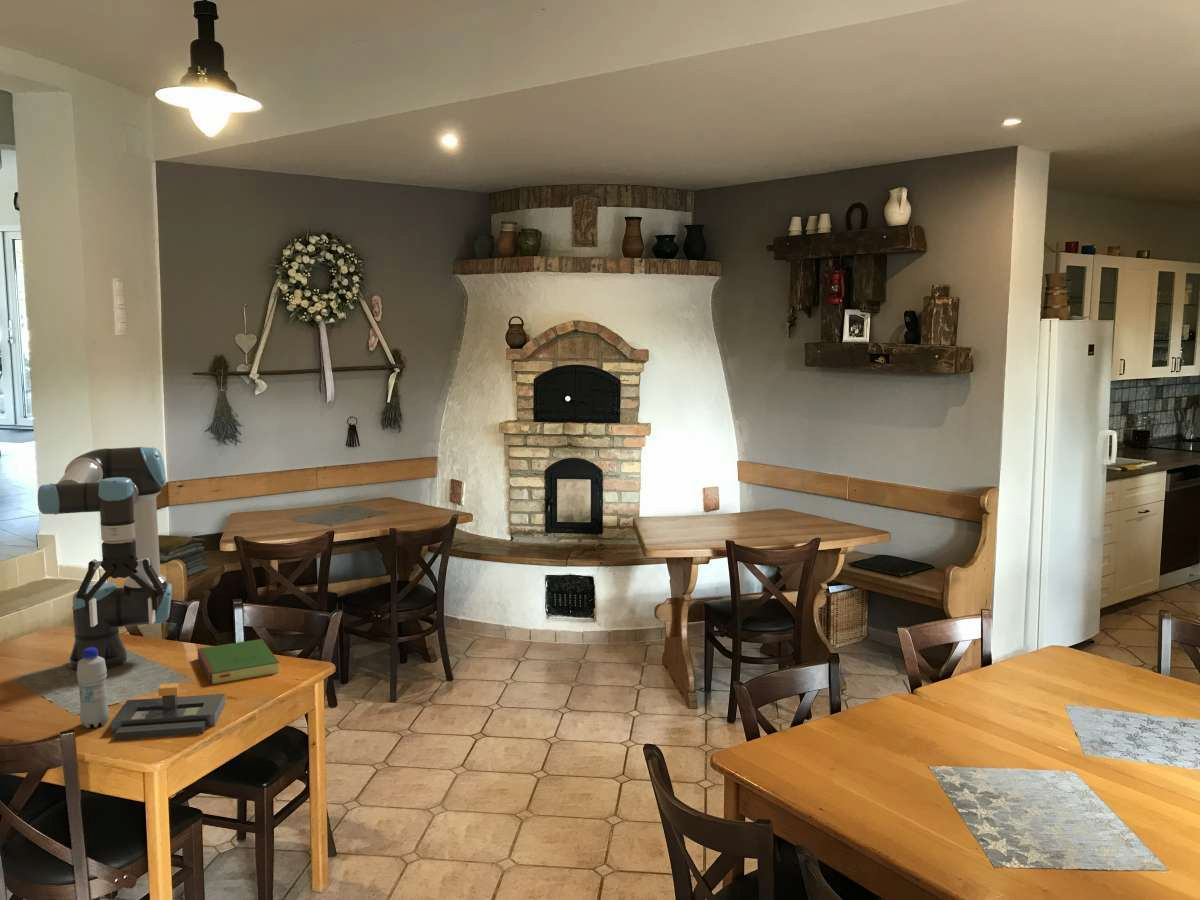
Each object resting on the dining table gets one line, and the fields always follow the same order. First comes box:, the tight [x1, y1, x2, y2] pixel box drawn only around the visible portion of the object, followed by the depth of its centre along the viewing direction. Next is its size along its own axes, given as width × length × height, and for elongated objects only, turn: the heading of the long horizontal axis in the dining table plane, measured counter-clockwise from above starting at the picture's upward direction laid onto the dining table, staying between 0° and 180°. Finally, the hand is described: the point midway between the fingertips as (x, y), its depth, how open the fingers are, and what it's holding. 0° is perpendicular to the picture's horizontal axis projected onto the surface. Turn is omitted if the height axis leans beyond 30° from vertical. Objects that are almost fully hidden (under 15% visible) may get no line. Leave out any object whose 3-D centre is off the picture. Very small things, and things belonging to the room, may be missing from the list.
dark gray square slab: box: [114, 721, 207, 741], centre depth 240 cm, size 21×20×2 cm
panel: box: [110, 693, 226, 734], centre depth 241 cm, size 14×24×3 cm, turn 102°
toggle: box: [157, 682, 181, 710], centre depth 240 cm, size 3×4×7 cm
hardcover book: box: [197, 638, 280, 685], centre depth 279 cm, size 25×19×4 cm
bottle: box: [76, 647, 110, 729], centre depth 236 cm, size 7×7×20 cm
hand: (123, 624), depth 234 cm, fingers open, 13 cm apart
